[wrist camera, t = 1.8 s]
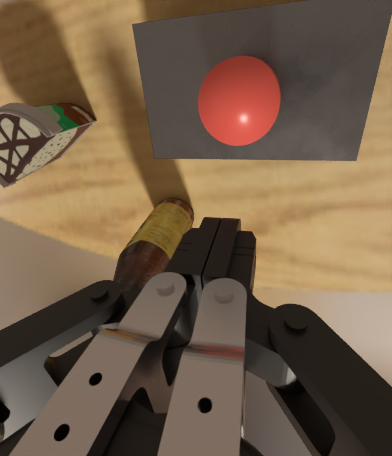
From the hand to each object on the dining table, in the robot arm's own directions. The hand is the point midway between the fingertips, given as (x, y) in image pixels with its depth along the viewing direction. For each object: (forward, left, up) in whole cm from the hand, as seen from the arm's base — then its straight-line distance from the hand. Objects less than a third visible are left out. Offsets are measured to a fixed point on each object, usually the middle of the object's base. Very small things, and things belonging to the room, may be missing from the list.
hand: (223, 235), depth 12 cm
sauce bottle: (+12, +14, -24) cm, 30 cm away
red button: (+1, -3, -19) cm, 19 cm away
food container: (+27, 0, -24) cm, 36 cm away
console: (+1, -3, -24) cm, 24 cm away
